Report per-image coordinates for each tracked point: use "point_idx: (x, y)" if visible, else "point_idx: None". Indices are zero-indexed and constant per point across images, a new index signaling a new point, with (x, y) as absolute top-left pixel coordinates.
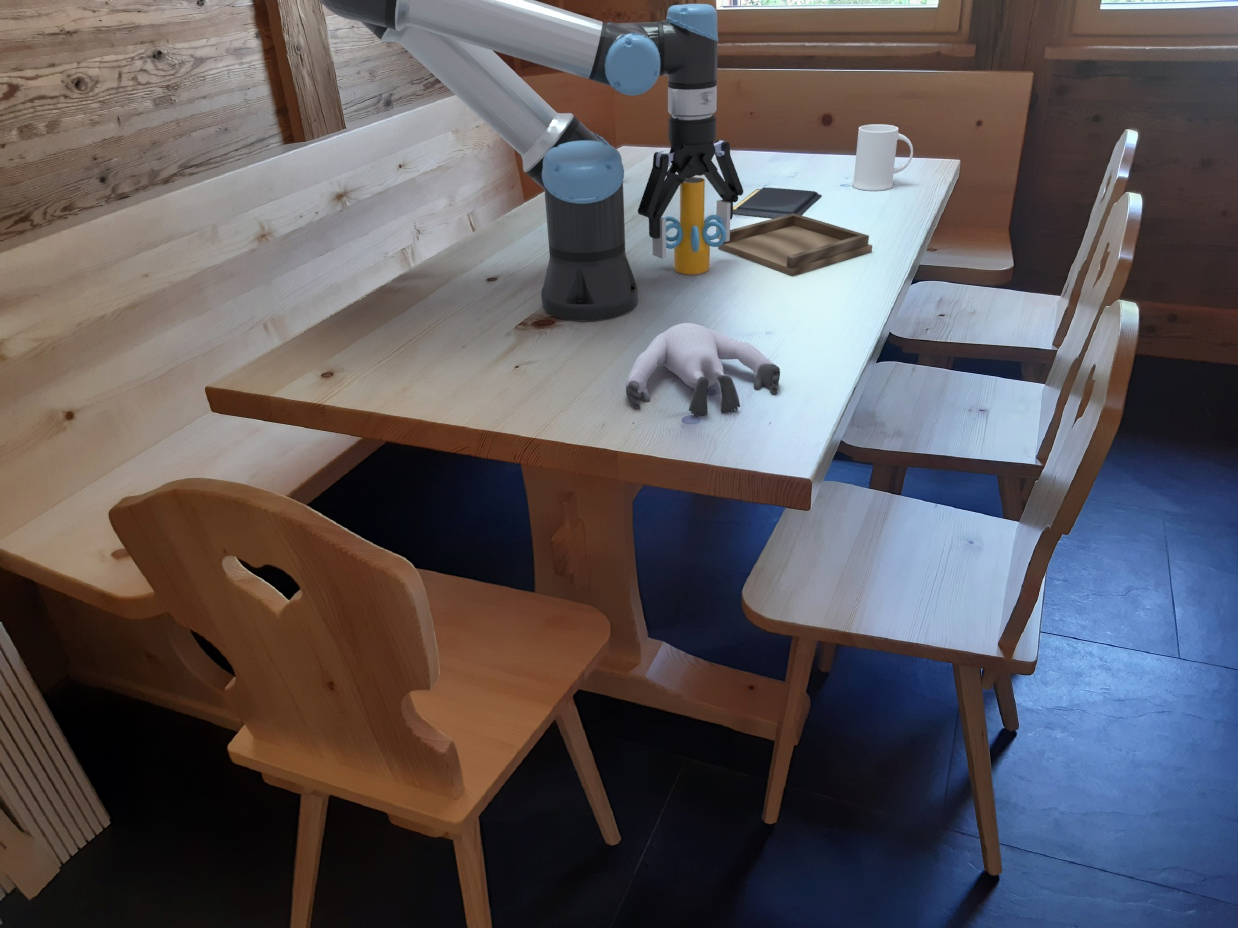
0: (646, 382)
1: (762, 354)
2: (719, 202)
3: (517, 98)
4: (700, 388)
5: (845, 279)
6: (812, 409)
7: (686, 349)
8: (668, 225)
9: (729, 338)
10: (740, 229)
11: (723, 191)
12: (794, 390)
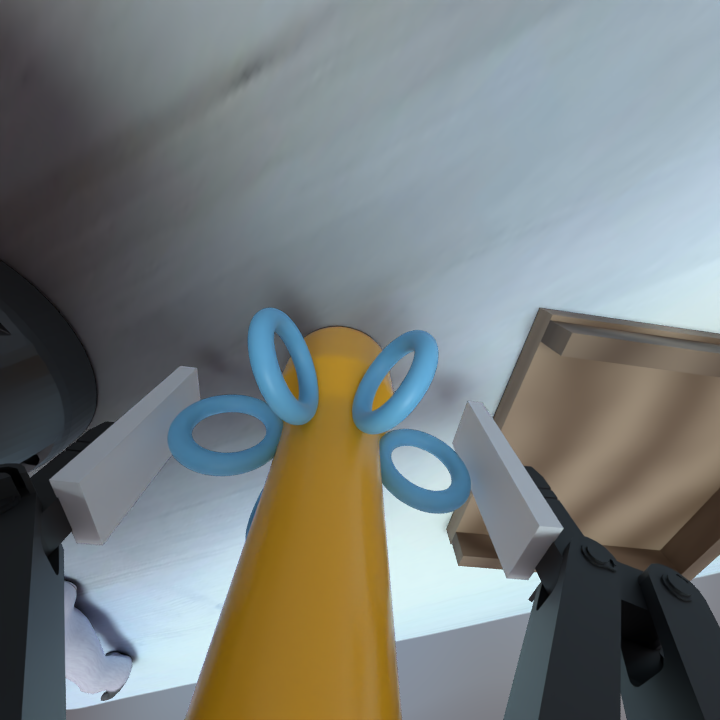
0: None
1: (108, 688)
2: (528, 534)
3: None
4: None
5: (484, 578)
6: (136, 684)
7: None
8: (186, 467)
9: (74, 679)
10: (641, 363)
11: (520, 658)
12: (144, 668)
